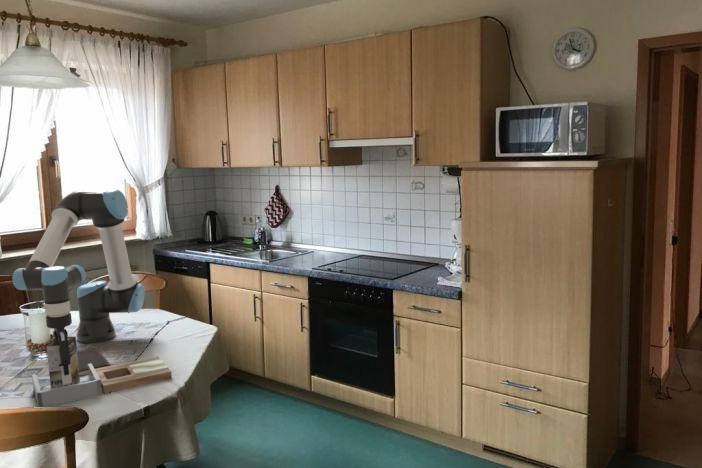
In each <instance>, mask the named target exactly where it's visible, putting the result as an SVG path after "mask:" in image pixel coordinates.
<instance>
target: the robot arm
mask: <svg viewBox="0 0 702 468" xmlns="http://www.w3.org/2000/svg"><path fill="white" fill-rule="evenodd" d="M128 208H129V205H128V201H127V198H126V196H125V195H124V193H123V192H122V191H121V190H119V189H116V188H115V189H113V188H98V189H79V190H75V191H72V192H70V193H68V194H67V195H66V196H65V197H63V198H62V199H61V200H60V201H59V202H58V203H57V204H56V206H55V207H54V208H53V210H52V212H51V220H50V222H49V224H48V225H47V228H46V230H45V231H44V234H43V235H42V236H41V239H40V240H39V243H38V245H37V247H36V248H35V250H34V252H33V254H32V255H31V258H30V259H29V261H28V262H27V264H26V266H25V267H21V268H17V269H15V271H14V272H13V275H12V284H13V286H14V287H15V288H16V290H19V291H42V293H43V294H42V295H43V302H44V306H42V309H43V310H45V315H46V316H45V323H46V327H47V328H49V329H53V331H52V333H53V334H52V335H53V337H54V338H53V341H54V340H56V344H57V345H59V347H60V348H59V353H60V360H61V364H59V367H60V366H61V374H62V383H63V385H65V384H70V383H72V379H71V370H70V364H71V362H70V357H69V350H68V338H67V337H69V336H68V334H69V333H68V331H67V329H66V327H69V326H71V324H72V323H73V322H72V321H73V320H72V319H73V318H72V313H71V311H72V308H71V300H70V291H71V290H74V289H76V288H77V290H76V295H77V296H76V299H77V308H78V316H79V322H78V327H77V330H76V331H77V332H76V342H77V341H78V342H80V343H97V342H103V341H106V340H110V339H112V338H114V337H115V336H116V328H115V326H114V324H113V322H112V319H111V317H110V314H115V313H116V314H117V313H118V314H122V313H125V314H126V313H128V314H130V313H137V312H139V311H140V310H141V309H142V307H143V305H144V303H145V294H146V293H145V291H146V290H145V287H144V285H143V284H140V283H138V280H137V278H136V277H135V276H133V273H132V269H131V266H130V265H131V264H130V260H129V256H128V250H127V245H126V240H125V234H124V231H123V226H122V225H123V224H124V222H125V219H126V217H127V216H128V213H129V210H128ZM83 220H84V221H85V220H87V221H88V220H91V221H92V223H93V227H94V228H96V229H98V232H99V236H100V241H101V245H102V249H103V254H104V259H105V262H106V268H107V273H108V277H109V281H108V283H107V281H106V280H98V281H92V282H88V283H85V281H86V278H87V273H86V270H85V268H83V267H82V266H81V265H80V264H79V265H78V264H72V265H67V266H63V265H62V266H60V265H55V266H54V264H55V262H56V261H57V259H58V256H59V254H60V252H61V251H62V248H63V247H64V245H65V243H66V241H67V238H68V237H69V234H70V232H71V231H72V229H73V228H74V227H76V226H77V225H78V223H79V222H81V221H83ZM83 283H85V284H83ZM64 361H65V362H64Z"/></svg>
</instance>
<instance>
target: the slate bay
mask: <svg viewBox="0 0 702 468" xmlns="http://www.w3.org/2000/svg"><path fill="white" fill-rule="evenodd" d="M88 373H89V374H88V379H89V381H85V382H79V383H78V384H73V385H69V386H64V387H59V388H54V389H51V388H50V389H46V390H45V389H44V390H41V388H40V387H41V386H40V383H39V379H38V376H37V373H35V374H32V375H31V378H32V386H33V391H34V392H33V393H34V396H35V400H36V403H37V408H38V407H45V408H48V407H53V406H59V405H62V404H67V403H72V402H75V401H76V402H77V401H81V400H85V399H88V398H89V399H90V398H94V397H98V396H102V395H103V390H102V388H101V380H100V378H99V376H98V374H97V373H96V371H95V369H94V367H93V365H92V364H91V363H90V364H88Z"/></svg>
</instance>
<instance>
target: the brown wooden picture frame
mask: <svg viewBox="0 0 702 468" xmlns="http://www.w3.org/2000/svg"><path fill="white" fill-rule="evenodd" d="M95 371H96V373H97V374H98V376H99V378H100V380H101V389H102V393H104V394H106V393H107V394H108V393H110V392H114V391H119V390H124V389H128V388H129V389H130V388H134V387H138V386H142V385H147V384H150V383H151V384H152V383H157V382H161V381H165V380H169V379H172V370H170V368H169V367H168V366H167V364H166V363H165V362H164V361H163V360H162V359H161V358H160V357H159V356H153V357H148V358H144V359H138V360H132V361H128V362H122V363H118V364H113V365H111V366H107V367H102V368H97V369H95Z"/></svg>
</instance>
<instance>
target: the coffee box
mask: <svg viewBox="0 0 702 468" xmlns="http://www.w3.org/2000/svg"><path fill="white" fill-rule="evenodd" d="M67 338H68V350H69V357H70V362H71V364H70V370H71V379H72V383H70V384H65V385H63V383H62V374H61V366H60V367H59V364H61V360H60V353H59V348H60V347H59V345H57V344H56V340H54V339H53V340H52V341H50V342H49V343H48V344H47V345H46V353H47V354H46V355H47V365H48V373H49V374H48V375H49V384H50V389H54V388H59V387H64V386H69V385H73V384H78V383H81V377H80V376H81V375H80V376H79V366H78V355H77V351H78V348H77V336H67ZM64 362H65V361H64Z"/></svg>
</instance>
